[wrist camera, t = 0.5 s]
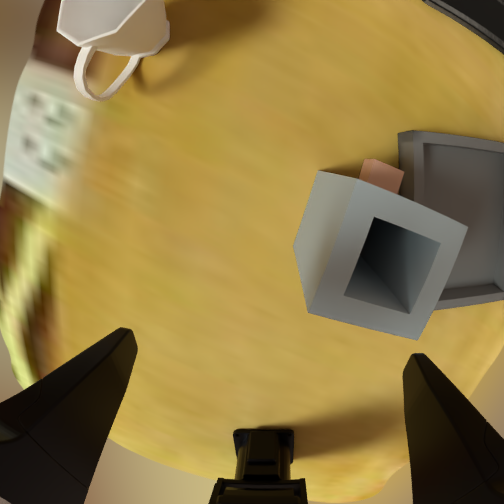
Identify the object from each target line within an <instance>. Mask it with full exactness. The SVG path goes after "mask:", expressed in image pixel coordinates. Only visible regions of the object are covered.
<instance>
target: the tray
mask: <svg viewBox="0 0 504 504" xmlns="http://www.w3.org/2000/svg"><path fill="white" fill-rule="evenodd" d="M398 148H399V170H401V171H404V175H403V178H402V181H401V184H400V188H399V195H400V196H402V197H404V198H407V199H409V200H411V201H414V202H416V203H418V204H420V205H423V206H425V207H427V208H429V209H432V210H434V211H436V212H438V213H440V214H442V215H445V216H447V217H449V218H451V219H453V220H455V221H457V222H459V223H461V224H463V225H465V226H467V227H468V229H467V232H466V235H465V237H464V240H463V243H462V245H461V248H460V251H459V253H458V256H457V258H456V261H455V263H454V266H453V268H452V271H451V273H450V275H449V278H448V280H447V282H446V284H445V287H444V289H443V291H442V293H441V295H440V297H439V300H438V302H437V304H436V306H435V308H434V310H441V309H449V308H456V307H463V306H470V305H476V304H482V303H489V302H494V301H500V300H504V143H502V142H496V141H491V140H485V139H479V138H473V137H466V136H459V135H451V134H443V133H434V132H425V131H414V130H412V131H406V132H401V133H398ZM434 310H433V311H434Z"/></svg>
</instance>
